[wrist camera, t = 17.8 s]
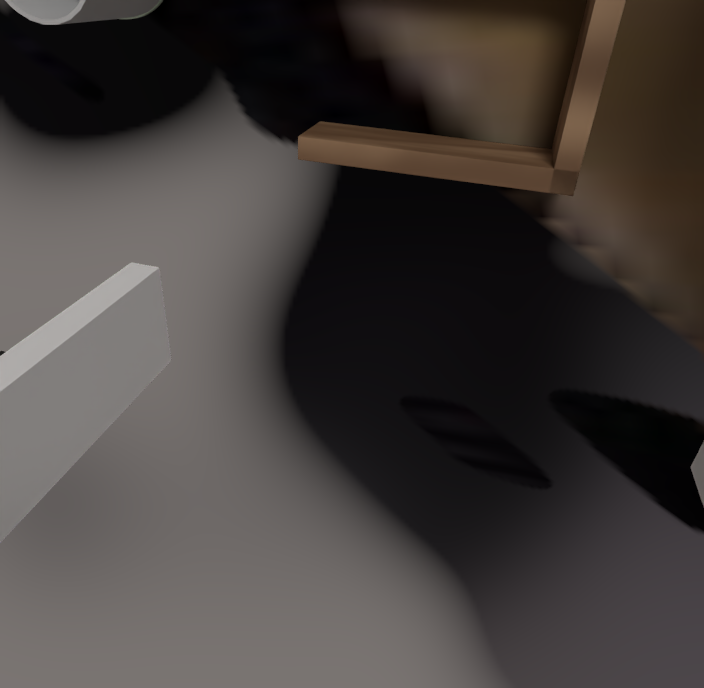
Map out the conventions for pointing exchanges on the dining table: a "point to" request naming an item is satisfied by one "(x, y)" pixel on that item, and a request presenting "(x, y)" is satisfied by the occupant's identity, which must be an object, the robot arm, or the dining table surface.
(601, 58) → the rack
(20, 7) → the cup
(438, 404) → the dining table surface
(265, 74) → the dining table surface
